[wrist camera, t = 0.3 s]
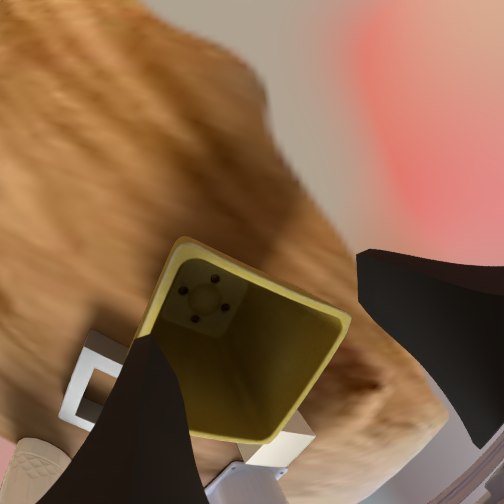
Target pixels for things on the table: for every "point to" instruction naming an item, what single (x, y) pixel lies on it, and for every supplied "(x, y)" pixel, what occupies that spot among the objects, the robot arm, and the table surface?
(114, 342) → the socket housing
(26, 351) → the table surface
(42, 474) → the white cup
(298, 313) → the flower pot
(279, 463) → the plug
